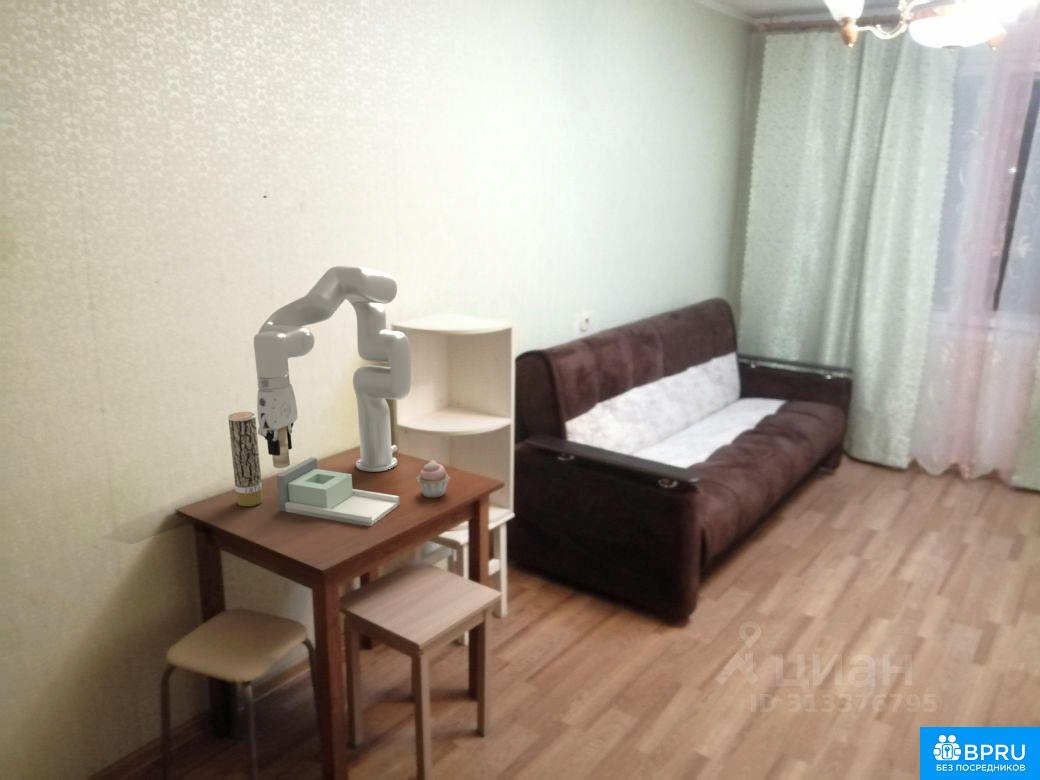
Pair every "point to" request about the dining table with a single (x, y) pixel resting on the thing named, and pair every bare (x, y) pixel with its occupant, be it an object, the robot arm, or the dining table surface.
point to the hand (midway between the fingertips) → (280, 450)
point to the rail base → (351, 510)
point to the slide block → (321, 488)
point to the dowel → (282, 450)
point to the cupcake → (433, 480)
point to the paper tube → (245, 458)
